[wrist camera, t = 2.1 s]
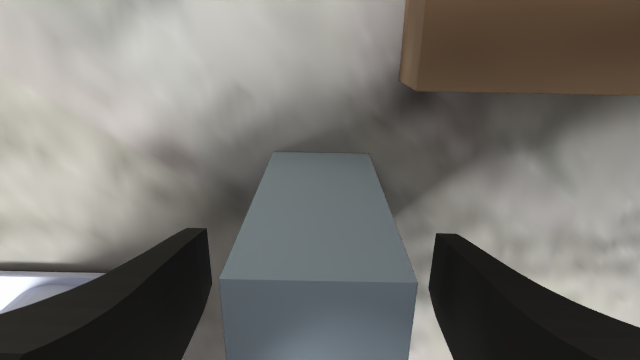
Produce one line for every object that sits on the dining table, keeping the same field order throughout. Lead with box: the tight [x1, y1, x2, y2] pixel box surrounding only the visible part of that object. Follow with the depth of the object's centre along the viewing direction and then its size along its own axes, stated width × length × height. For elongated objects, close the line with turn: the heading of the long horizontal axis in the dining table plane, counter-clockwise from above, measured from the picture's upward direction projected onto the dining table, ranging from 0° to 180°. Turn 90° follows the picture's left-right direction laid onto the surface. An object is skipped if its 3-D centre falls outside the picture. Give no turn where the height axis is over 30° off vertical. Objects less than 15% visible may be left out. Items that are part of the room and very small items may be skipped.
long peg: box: [219, 152, 418, 360], centre depth 13 cm, size 4×4×9 cm
